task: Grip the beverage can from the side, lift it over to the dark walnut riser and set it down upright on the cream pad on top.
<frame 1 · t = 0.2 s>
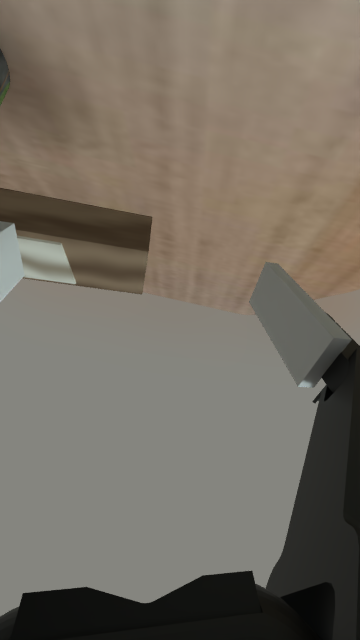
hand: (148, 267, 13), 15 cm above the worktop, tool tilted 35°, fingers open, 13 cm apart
riser: (73, 232, 33), on the worktop
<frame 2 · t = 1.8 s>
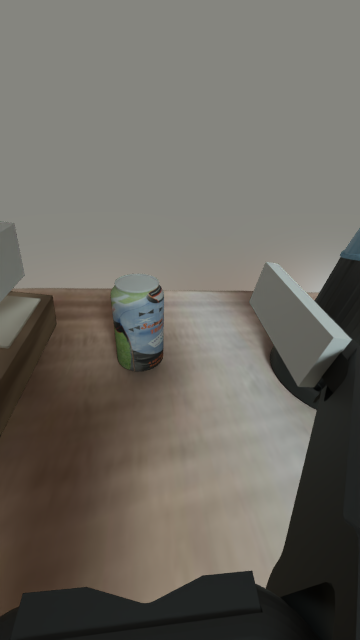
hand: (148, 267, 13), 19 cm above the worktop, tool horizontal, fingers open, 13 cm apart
beverage can: (135, 359, 34), on the worktop
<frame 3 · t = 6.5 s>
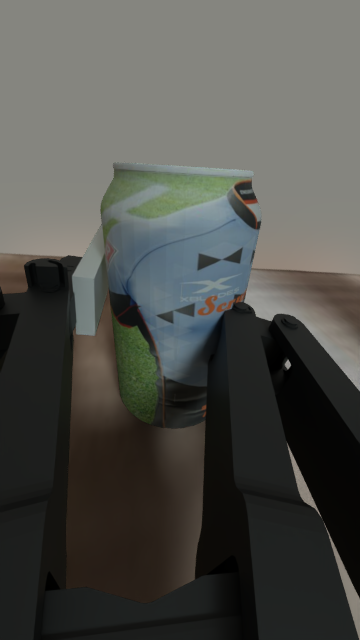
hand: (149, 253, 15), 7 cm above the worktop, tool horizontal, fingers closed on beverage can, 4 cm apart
beverage can: (159, 389, 15), on the worktop, touching gripper
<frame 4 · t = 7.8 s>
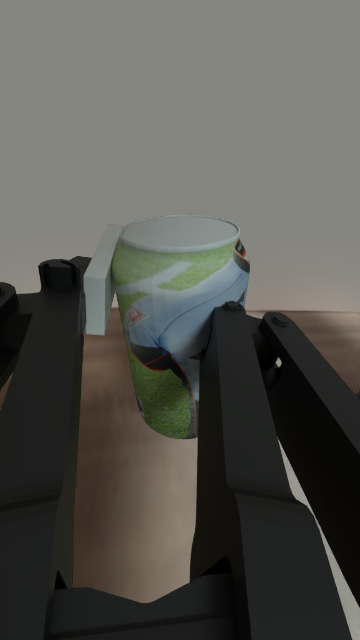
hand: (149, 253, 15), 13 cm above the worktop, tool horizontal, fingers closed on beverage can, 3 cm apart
beverage can: (171, 404, 17), point 5 cm above the worktop, touching gripper
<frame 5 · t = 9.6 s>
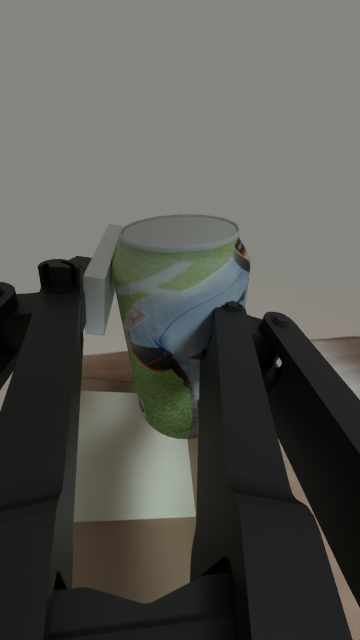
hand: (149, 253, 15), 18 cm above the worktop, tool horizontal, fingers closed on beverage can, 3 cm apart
beverage can: (172, 404, 17), point 9 cm above the worktop, touching gripper
riser: (120, 533, 18), on the worktop
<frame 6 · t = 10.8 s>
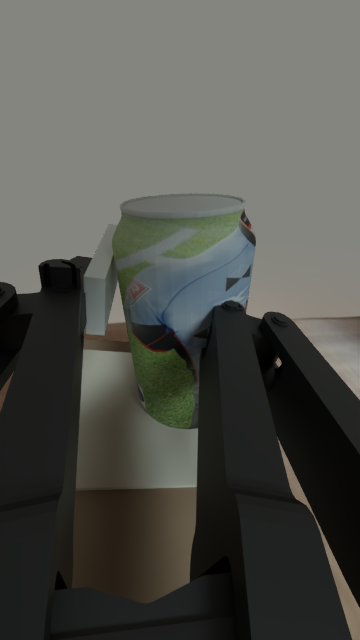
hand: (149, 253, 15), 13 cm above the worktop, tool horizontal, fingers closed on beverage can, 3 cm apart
beverage can: (173, 396, 16), point 5 cm above the worktop, touching gripper, riser
riser: (123, 511, 15), on the worktop
when the fingers open (13 cm above the worktop, at t = 11.0 s): beverage can stays where it is, resting on riser.
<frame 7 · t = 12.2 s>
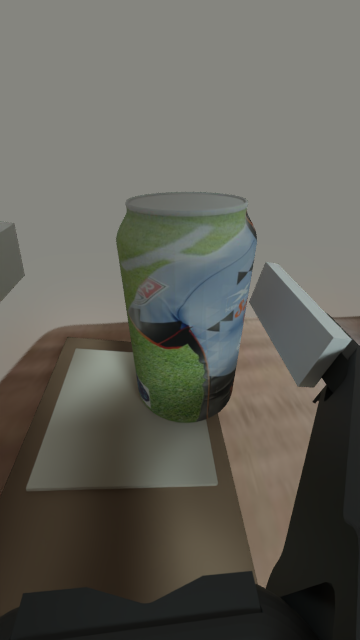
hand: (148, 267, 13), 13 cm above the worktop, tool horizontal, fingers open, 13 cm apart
beverage can: (171, 393, 17), point 5 cm above the worktop, touching riser
riser: (123, 511, 15), on the worktop
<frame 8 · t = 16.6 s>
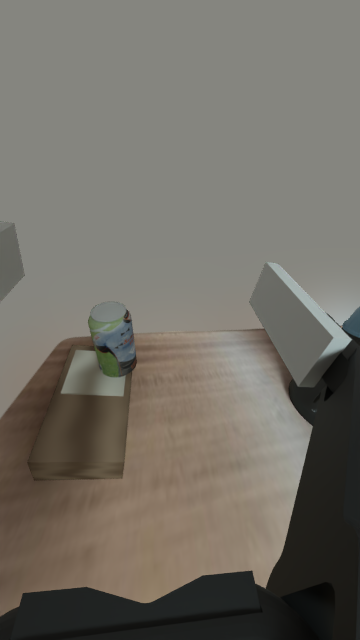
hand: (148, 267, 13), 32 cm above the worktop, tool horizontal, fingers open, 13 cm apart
beverage can: (114, 368, 42), point 5 cm above the worktop, touching riser
riser: (94, 411, 40), on the worktop
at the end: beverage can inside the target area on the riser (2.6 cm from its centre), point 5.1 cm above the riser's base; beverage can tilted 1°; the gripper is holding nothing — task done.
